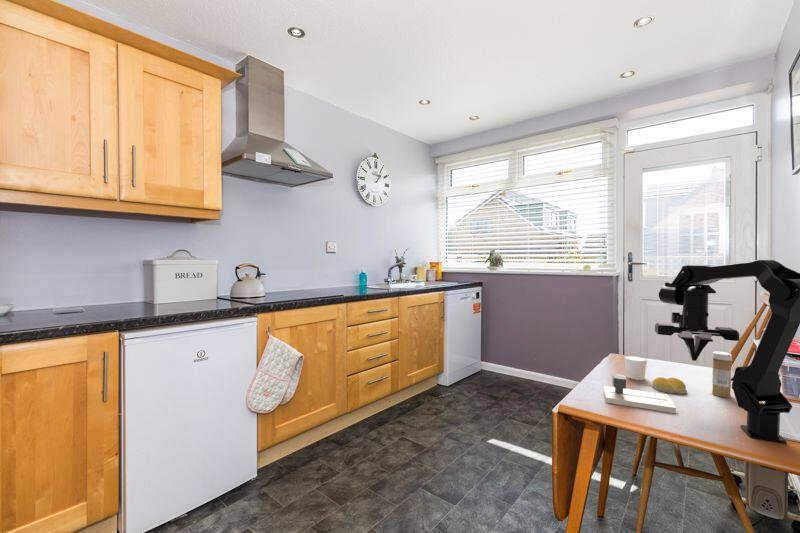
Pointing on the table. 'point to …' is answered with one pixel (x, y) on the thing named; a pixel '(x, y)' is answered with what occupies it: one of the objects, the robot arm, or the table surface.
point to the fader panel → (640, 399)
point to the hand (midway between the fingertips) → (693, 360)
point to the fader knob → (619, 383)
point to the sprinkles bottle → (721, 374)
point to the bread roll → (669, 385)
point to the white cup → (635, 367)
